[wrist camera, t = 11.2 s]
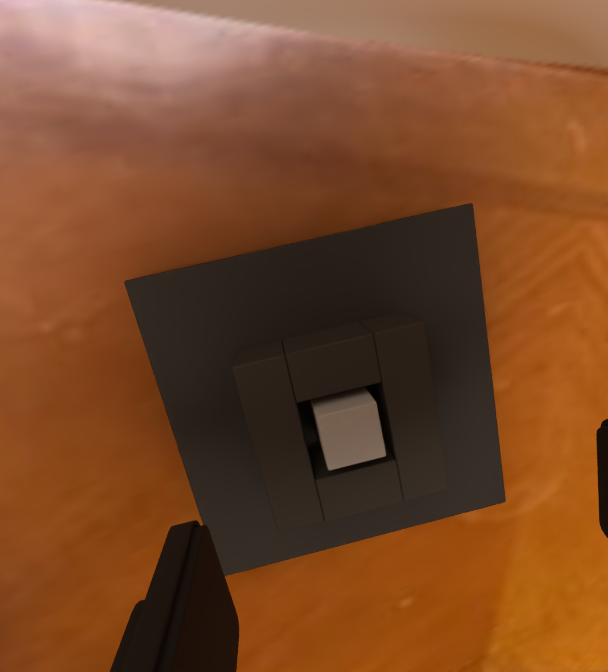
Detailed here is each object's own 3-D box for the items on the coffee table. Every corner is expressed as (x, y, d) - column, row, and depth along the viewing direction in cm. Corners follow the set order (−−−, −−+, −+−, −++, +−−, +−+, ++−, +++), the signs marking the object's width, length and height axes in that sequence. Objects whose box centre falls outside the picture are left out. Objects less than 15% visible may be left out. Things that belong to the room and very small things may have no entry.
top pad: (236, 349, 16) (231, 367, 14) (401, 310, 16) (424, 321, 14) (276, 496, 18) (277, 534, 15) (425, 458, 18) (449, 490, 16)
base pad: (135, 278, 16) (89, 289, 12) (455, 206, 17) (521, 192, 13) (223, 553, 20) (211, 640, 15) (489, 484, 20) (550, 548, 16)
